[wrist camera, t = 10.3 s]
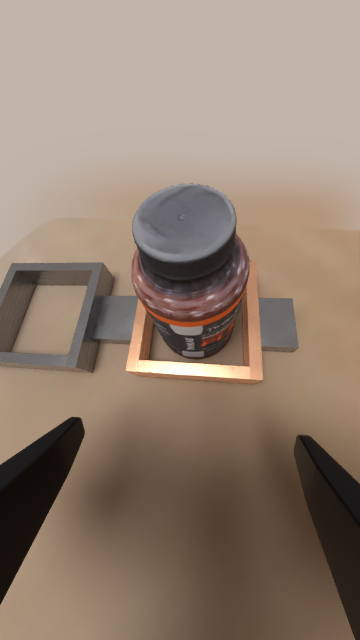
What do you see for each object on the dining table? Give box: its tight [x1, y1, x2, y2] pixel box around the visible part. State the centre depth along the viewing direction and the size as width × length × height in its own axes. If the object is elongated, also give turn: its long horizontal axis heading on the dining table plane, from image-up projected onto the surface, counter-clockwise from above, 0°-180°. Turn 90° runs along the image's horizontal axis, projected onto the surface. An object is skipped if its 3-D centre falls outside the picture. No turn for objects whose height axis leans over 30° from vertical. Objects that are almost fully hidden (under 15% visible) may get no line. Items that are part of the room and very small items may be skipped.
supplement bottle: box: [131, 183, 250, 359], centre depth 13 cm, size 6×6×11 cm
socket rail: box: [0, 261, 299, 384], centre depth 18 cm, size 28×9×2 cm, turn 86°
